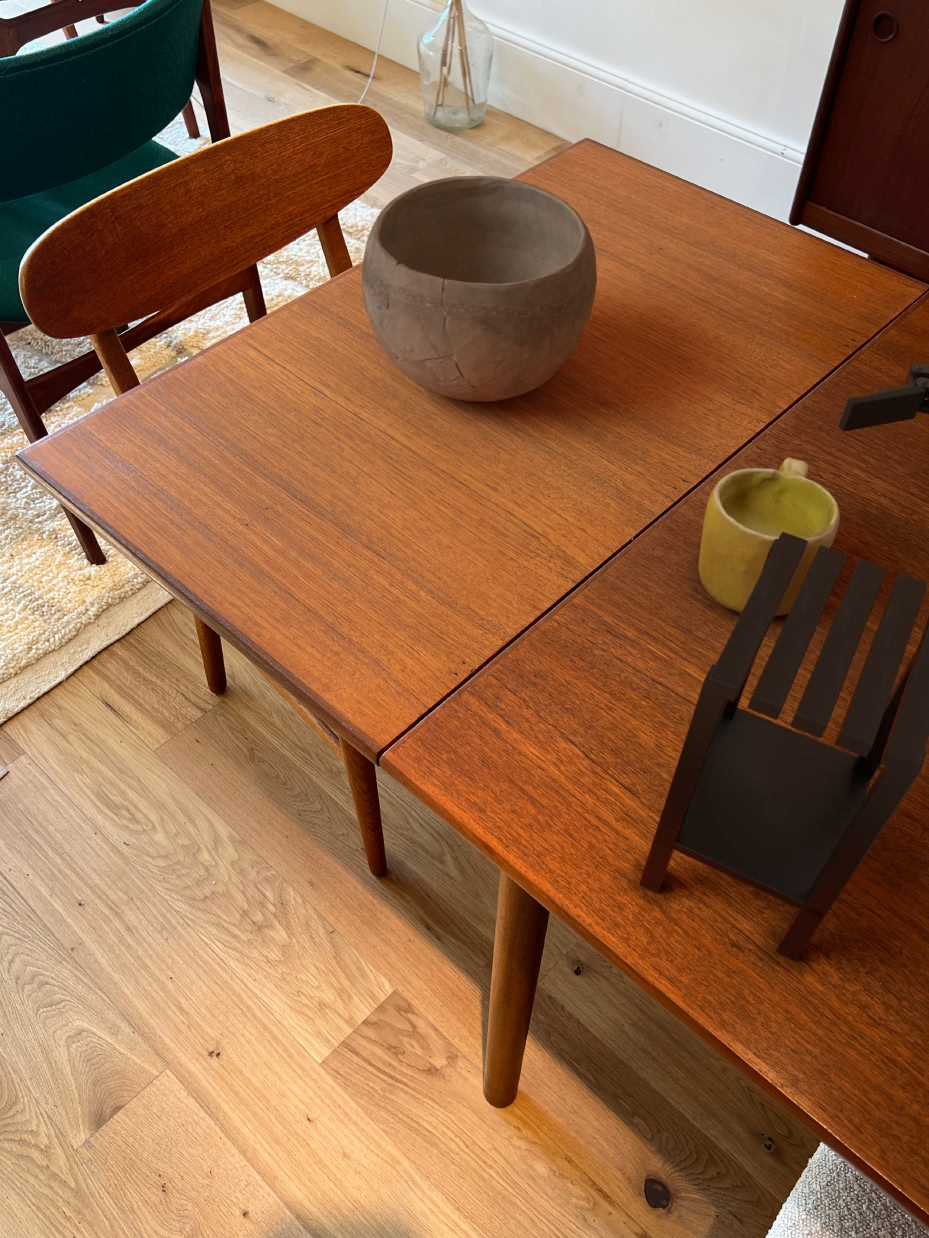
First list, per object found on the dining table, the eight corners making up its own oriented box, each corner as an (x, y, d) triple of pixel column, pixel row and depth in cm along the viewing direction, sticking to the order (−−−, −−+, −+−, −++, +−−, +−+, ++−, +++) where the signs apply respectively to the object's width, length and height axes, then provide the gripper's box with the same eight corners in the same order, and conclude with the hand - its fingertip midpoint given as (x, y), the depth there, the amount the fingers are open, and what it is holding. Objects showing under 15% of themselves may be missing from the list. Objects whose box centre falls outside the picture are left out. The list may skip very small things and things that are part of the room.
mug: (800, 647, 71) (808, 518, 66) (672, 614, 77) (672, 493, 72) (866, 579, 79) (878, 459, 74) (745, 553, 85) (749, 441, 80)
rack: (844, 817, 64) (974, 598, 48) (794, 963, 58) (925, 766, 42) (700, 754, 67) (778, 529, 51) (637, 886, 61) (704, 675, 45)
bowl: (591, 442, 89) (612, 289, 77) (359, 437, 89) (346, 284, 78) (578, 313, 103) (594, 167, 91) (377, 308, 103) (368, 163, 91)
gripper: (1219, 566, 74) (971, 624, 70) (1011, 372, 89) (798, 411, 85) (1284, 490, 68) (1017, 548, 64) (1049, 297, 84) (823, 334, 80)
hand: (891, 470), depth 75 cm, fingers open, 13 cm apart
